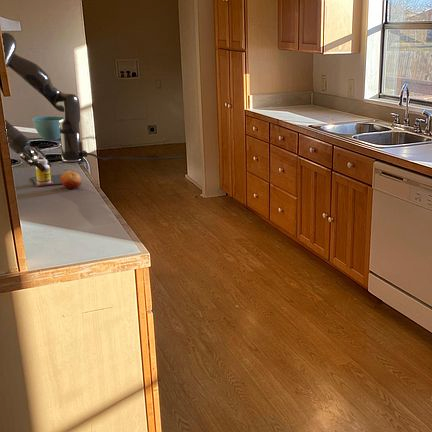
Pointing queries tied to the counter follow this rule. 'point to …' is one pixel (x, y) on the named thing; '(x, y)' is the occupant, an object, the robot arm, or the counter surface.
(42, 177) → the supplement bottle
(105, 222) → the counter surface
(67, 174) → the fruit
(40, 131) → the plant pot
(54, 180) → the corner mat
